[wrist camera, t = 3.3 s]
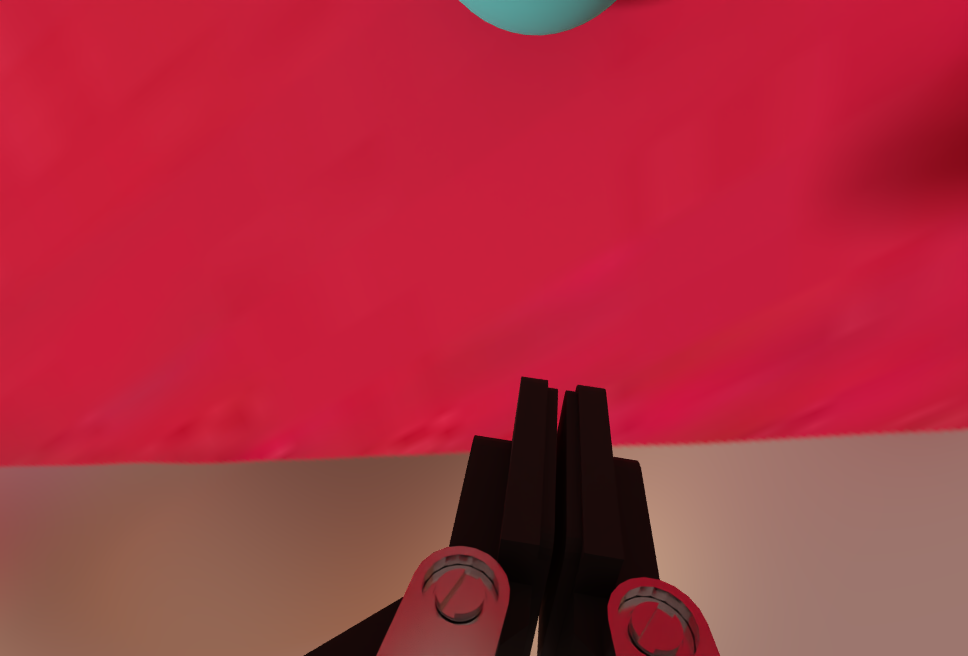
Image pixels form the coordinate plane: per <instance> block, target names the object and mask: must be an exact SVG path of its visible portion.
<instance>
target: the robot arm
mask: <svg viewBox="0 0 968 656" xmlns="http://www.w3.org/2000/svg"><path fill="white" fill-rule="evenodd" d="M557 407H558V389H554V388H548V380H542V379H535V378H528V377H521V383H520V390H519V397H518V403H517V410H516V417H515V424H514V431H513V438H512V441H509V440H502V439H496V438H489V437H483V436H477V435H475V436H474V439H473V443H472V447H471V452H470V456H469V460H468V465H467V469H466V474H465V478H464V483H463V487H462V492H461V496H460V500H459V505H458V509H457V514H456V518H455V523H454V527H453V531H452V536H451V540H450V545H449V547H446V548H444V549H441V550H439V551H436V552H434V553H432V554H431V555H430V556H428V557H427V558H426V559H425V560H423V561H422V563H421V564H420V565H419V567H418V569H417V570H416V571H415V573H414V575H413V577H412V579H411V582H410V584H409V586H408V588H407V590H406V592H405V595H404V597H402V598H401V599H399V600H397V601H396V602H394V603H392V604H390V605H389V606H387V607H385V608H384V609H382V610H380V611H378V612H377V613H375V614H373V615H372V616H370V617H368V618H367V619H365V620H363V621H362V622H360V623H358V624H357V625H355V626H353V627H351V628H350V629H348V630H347V631H345V632H343V633H342V634H340V635H338V636H336V637H335V638H333V639H331V640H329V641H328V642H326V643H324V644H323V645H321V646H319V647H318V648H316V649H314V650H313V651H311V652H309V653H307V654H306V655H304V656H530V652H531V648H532V643H533V639H534V634H535V630H536V626H537V621H538V616H539V628H538V651H537V656H720V654H719V652H718V649H717V647H716V644H715V641H714V639H713V636H712V634H711V631H710V628H709V626H708V624H707V622H706V620H705V618H704V616H703V615H702V613H701V611H700V609H699V608H698V607H697V606H696V605H695V604H694V602H693V601H692V600H691V599H690V598H689V597H688V596H687V595H686V594H684V593H683V592H681V591H680V590H679V589H677V588H676V587H674V586H672V585H670V584H668V583H666V582H663V581H661V580H660V579H659V573H658V567H657V561H656V555H655V549H654V543H653V537H652V531H651V525H650V519H649V513H648V507H647V501H646V495H645V489H644V484H643V478H642V472H641V467H640V464H639V462H638V461H636V460H630V459H624V458H618V457H613V452H612V443H611V434H610V424H609V415H608V406H607V397H606V390H605V389H603V388H596V387H590V386H583V385H577V387H576V390H575V392H574V391H567V390H566V392H565V396H564V400H563V406H562V411H561V416H560V421H559V426H558V431H557Z"/></svg>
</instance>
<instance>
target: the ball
mask: <svg viewBox="0 0 968 656" xmlns="http://www.w3.org/2000/svg"><path fill="white" fill-rule="evenodd" d="M459 1H460V2H461V3H463V4H464V5H465V6H466V7H467V8H468V9H469V10H470V11H471V12H473V13H474V14H476V15H477V16H478V17H480V18H481V19H483V20H484V21H486V22H488V23H490V24H492V25H494V26H496V27H498V28H501V29H504V30H507V31H510V32H513V33H519V34H524V35H547V34H555V33H559V32H563V31H567V30H570V29H573V28H575V27H577V26H580V25H582V24H584V23H586V22H588V21H590V20H591V19H593V18H595V17H596V16H598V15H599V14H601V13H602V12H603V11H605V10H606V9H607V8H608V7H610V6H611V5H612V4H613V3H614V2H615V1H616V0H459Z"/></svg>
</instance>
